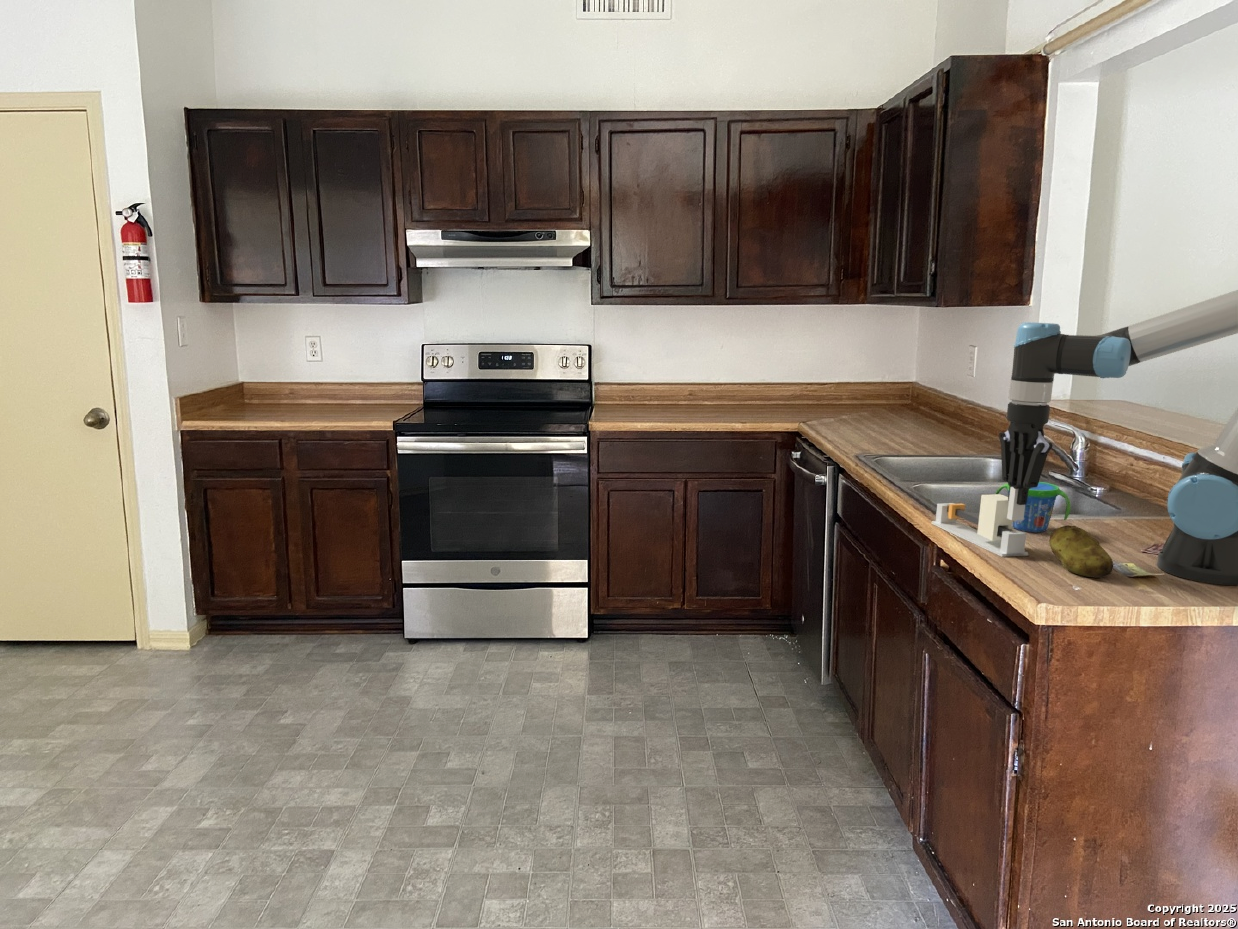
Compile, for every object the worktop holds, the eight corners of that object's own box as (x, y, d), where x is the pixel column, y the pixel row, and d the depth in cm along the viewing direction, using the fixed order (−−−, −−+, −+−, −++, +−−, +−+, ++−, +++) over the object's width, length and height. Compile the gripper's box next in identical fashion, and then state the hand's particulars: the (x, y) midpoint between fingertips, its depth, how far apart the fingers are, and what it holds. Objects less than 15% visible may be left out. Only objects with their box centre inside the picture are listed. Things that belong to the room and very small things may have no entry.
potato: (1070, 581, 159) (1076, 539, 157) (1040, 559, 171) (1045, 521, 170) (1116, 582, 158) (1122, 541, 157) (1082, 561, 171) (1088, 522, 169)
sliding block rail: (1027, 555, 174) (1031, 528, 173) (1001, 556, 172) (1005, 530, 171) (954, 522, 198) (957, 499, 196) (931, 523, 196) (933, 499, 195)
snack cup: (984, 526, 195) (989, 482, 193) (1001, 518, 203) (1006, 476, 201) (1057, 540, 185) (1063, 494, 183) (1072, 531, 192) (1078, 487, 190)
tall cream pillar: (1011, 539, 177) (1015, 499, 176) (992, 540, 176) (996, 500, 175) (995, 533, 182) (1000, 494, 180) (977, 534, 181) (981, 494, 179)
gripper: (1069, 406, 162) (1054, 527, 167) (1023, 398, 175) (1010, 510, 180) (1035, 407, 161) (1020, 528, 166) (991, 398, 173) (978, 511, 178)
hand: (1015, 518), depth 173 cm, fingers closed
